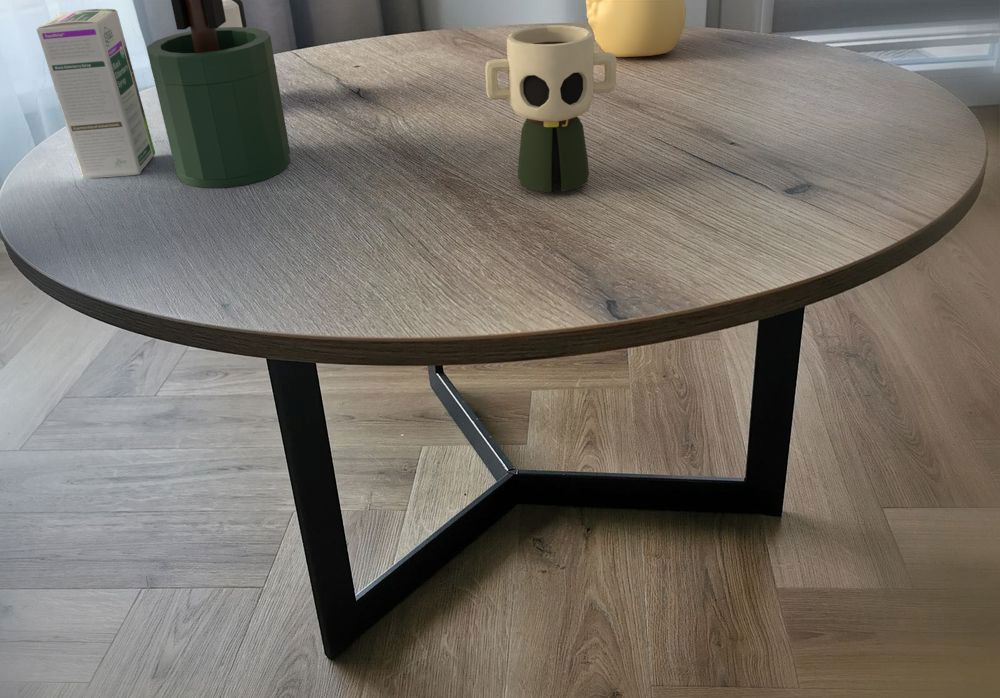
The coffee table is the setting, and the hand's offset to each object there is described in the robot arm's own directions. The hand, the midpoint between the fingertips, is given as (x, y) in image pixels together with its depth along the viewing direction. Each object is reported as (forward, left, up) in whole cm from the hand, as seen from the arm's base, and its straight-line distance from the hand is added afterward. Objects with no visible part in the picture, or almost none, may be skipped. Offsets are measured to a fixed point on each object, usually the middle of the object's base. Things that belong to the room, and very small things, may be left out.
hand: (201, 25), depth 87 cm
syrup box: (-11, +1, -13) cm, 18 cm away
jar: (+1, 0, -13) cm, 13 cm away
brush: (0, 0, -10) cm, 10 cm away
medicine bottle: (-5, +20, -13) cm, 24 cm away
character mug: (+32, -7, -13) cm, 35 cm away
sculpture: (+42, +37, -13) cm, 57 cm away
